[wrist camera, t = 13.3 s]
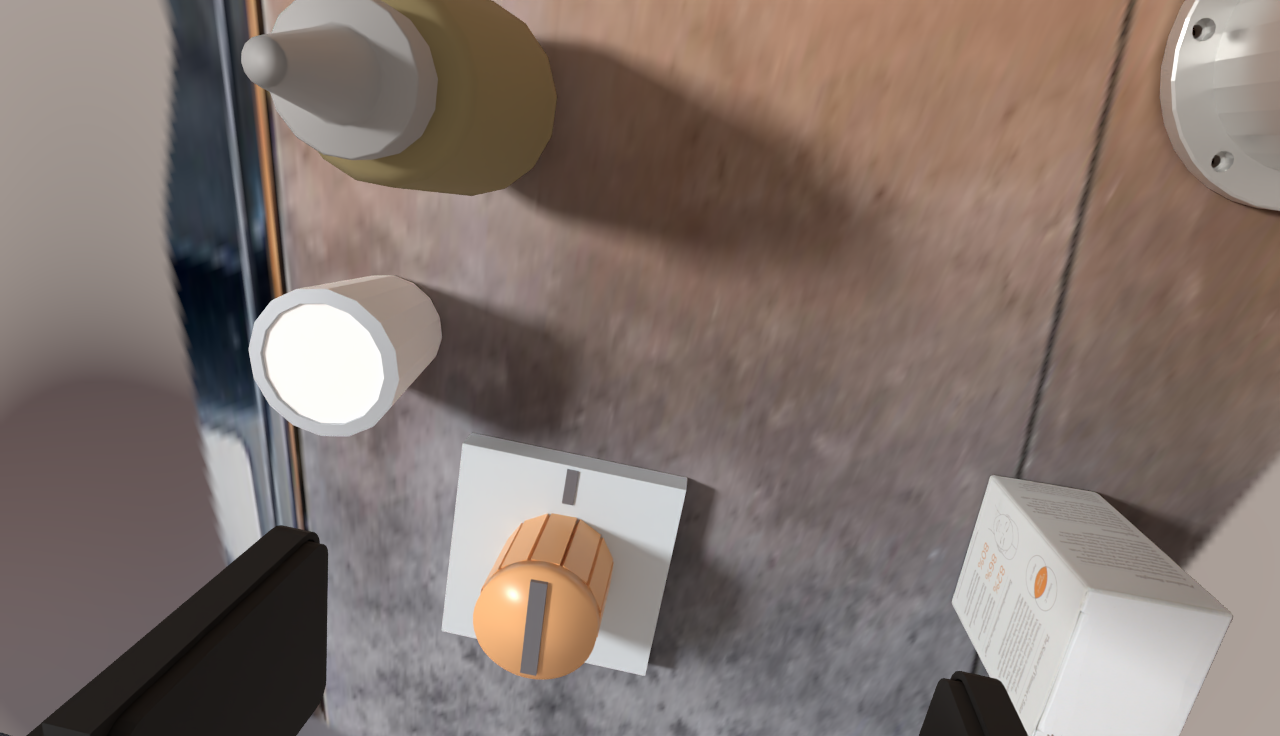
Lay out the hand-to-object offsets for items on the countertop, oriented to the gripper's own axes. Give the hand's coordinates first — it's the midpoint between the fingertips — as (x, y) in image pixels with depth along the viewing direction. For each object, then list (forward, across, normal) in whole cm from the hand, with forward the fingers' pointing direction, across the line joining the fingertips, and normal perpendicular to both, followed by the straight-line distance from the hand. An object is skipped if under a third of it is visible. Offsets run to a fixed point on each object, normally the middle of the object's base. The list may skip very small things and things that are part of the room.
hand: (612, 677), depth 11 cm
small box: (+27, -19, +10) cm, 35 cm away
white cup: (+26, +16, +4) cm, 31 cm away
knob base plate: (+26, +5, +16) cm, 31 cm away
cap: (+25, +5, +16) cm, 30 cm away
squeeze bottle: (+27, +12, -8) cm, 30 cm away
